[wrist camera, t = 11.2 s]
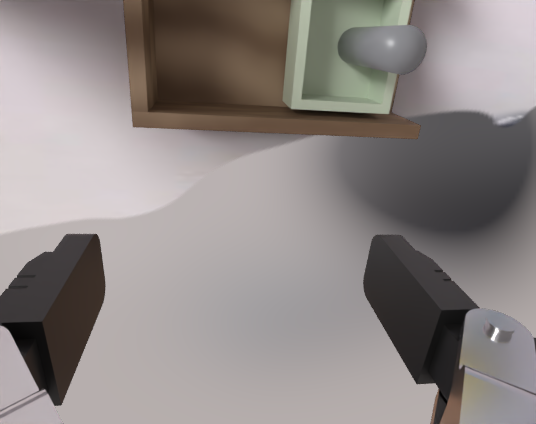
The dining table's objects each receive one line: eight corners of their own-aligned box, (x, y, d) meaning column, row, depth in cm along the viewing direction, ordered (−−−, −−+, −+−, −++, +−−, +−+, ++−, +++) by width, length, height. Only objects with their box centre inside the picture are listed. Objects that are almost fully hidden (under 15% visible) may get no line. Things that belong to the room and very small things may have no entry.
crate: (293, -28, 31) (329, -56, 22) (392, -17, 33) (468, -39, 23) (282, 100, 36) (308, 125, 26) (370, 105, 37) (425, 131, 27)
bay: (136, -69, 30) (115, -97, 24) (416, -36, 33) (463, -52, 27) (146, 110, 36) (132, 127, 29) (384, 122, 39) (417, 139, 33)
